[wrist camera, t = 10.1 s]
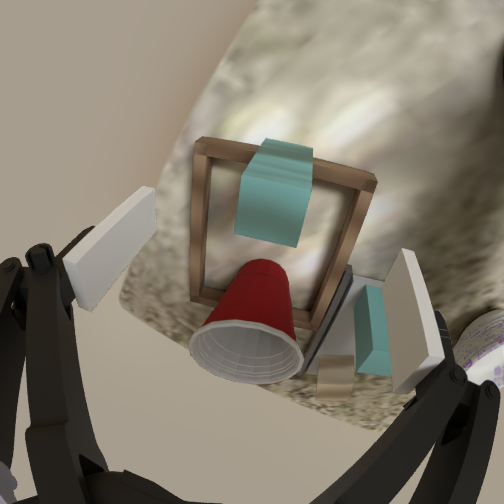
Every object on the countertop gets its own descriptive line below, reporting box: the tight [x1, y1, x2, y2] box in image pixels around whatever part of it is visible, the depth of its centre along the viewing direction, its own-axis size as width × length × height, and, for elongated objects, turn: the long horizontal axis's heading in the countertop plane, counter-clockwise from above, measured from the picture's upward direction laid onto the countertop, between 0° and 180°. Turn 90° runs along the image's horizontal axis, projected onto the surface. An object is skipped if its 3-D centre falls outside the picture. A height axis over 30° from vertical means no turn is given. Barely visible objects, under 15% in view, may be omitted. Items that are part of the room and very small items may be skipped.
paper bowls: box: [453, 310, 504, 389], centre depth 30 cm, size 15×15×8 cm
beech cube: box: [316, 354, 354, 401], centre depth 39 cm, size 5×5×5 cm
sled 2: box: [306, 275, 392, 377], centre depth 34 cm, size 20×7×10 cm, turn 172°
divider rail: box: [296, 264, 353, 376], centre depth 38 cm, size 22×1×2 cm, turn 172°
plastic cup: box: [188, 259, 304, 384], centre depth 31 cm, size 11×11×12 cm
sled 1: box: [190, 136, 378, 331], centre depth 27 cm, size 22×16×11 cm
